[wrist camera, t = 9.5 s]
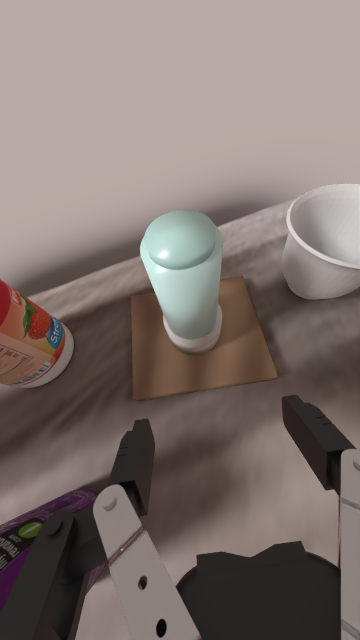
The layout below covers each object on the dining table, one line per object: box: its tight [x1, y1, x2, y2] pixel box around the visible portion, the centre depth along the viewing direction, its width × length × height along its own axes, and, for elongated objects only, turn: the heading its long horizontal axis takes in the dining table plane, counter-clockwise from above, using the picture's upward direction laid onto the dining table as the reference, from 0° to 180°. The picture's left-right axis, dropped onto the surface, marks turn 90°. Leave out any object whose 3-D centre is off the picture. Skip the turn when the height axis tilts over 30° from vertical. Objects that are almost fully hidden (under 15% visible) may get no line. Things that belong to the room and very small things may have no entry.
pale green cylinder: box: [140, 210, 223, 340], centre depth 17 cm, size 5×5×11 cm
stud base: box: [131, 276, 278, 401], centre depth 25 cm, size 16×14×6 cm
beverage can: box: [0, 489, 106, 614], centre depth 14 cm, size 7×7×12 cm
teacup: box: [282, 184, 360, 300], centre depth 24 cm, size 12×15×10 cm
